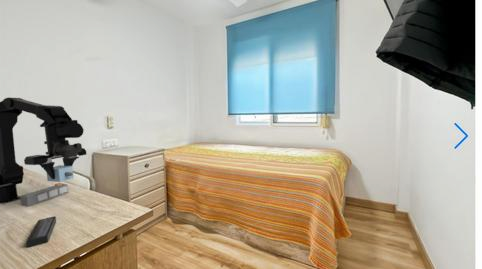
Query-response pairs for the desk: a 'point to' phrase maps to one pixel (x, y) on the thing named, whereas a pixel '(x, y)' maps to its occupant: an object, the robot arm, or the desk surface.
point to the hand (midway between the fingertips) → (61, 177)
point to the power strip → (43, 194)
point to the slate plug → (61, 173)
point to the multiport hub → (41, 232)
